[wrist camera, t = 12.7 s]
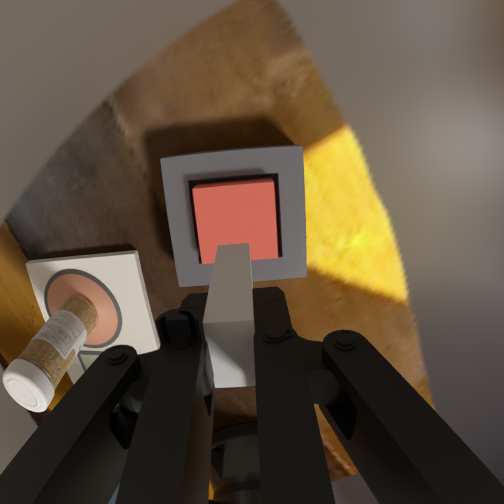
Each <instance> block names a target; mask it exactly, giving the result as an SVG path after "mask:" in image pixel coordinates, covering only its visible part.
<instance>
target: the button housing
mask: <svg viewBox="0 0 504 504" xmlns="http://www.w3.org/2000/svg"><path fill="white" fill-rule="evenodd" d="M160 161H161V170H162V178H163V186H164V193H165V201H166V208H167V215H168V222H169V228H170V235H171V241H172V247H173V253H174V259H175V265H176V270H177V276H178V282H179V287H186V286H201V285H210V282H211V276H212V271H213V266H214V263H210V264H202V260H201V252H200V245H199V238H198V230H197V222H196V215H195V206H194V198H193V190H192V189H193V188H194V187H195V186H196V184H197V183H202V182H212V181H222V180H233V179H245V178H258V177H271V178H272V180H273V181H274V191H275V208H276V226H277V246H278V258H272V259H260V260H251V272H252V282H254V281H266V280H277V279H289V278H300V277H307V267H306V215H305V186H304V164H303V146H300V145H296V144H293V145H273V146H258V147H244V148H232V149H222V150H212V151H202V152H194V153H185V154H177V155H170V156H167V157H164V158H161V159H160Z"/></svg>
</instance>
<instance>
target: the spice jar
mask: <svg viewBox="0 0 504 504" xmlns="http://www.w3.org/2000/svg"><path fill="white" fill-rule="evenodd" d="M97 323H98V314H97V311H96V309H95V307H94V305H93V304H92V303H91V302H90V301H89V300H87V299H86V298H84V297H82V296H79V295H72V296H69V297H67V298H66V299H65V301H64V302H63V305H62V306H61V307H60V308H59V309H58V310H57V311H56V312H55V313H54V314H53V315H52V316H51V317H50V318H49V319H48V320H47V322H46V323H45V324H44V325H43V326H42V327H41V329H40V330H39V331H38V332H37V333H36V335H35V336H34V337H33V338H32V339H31V341H30V342H29V344H28V345H27V347H26V348H25V349H24V350H23V352H22V353H21V354H20V355H19V357H17V358H16V359H15V360H13V361H12V362H11V363H10V365H9V366H8V367H7V369H6V370H5V372H4V374H3V383H4V386H5V388H6V390H7V391H8V393H9V394H10V395H11V397H12V398H13V399H14V400H15V401H16V402H18V403H19V404H20V405H21V406H23V407H25V408H26V409H28V410H31V411H34V412H42V411H44V410H46V408H47V407H48V405H49V404H50V402H51V400H52V398H53V396H54V392H55V389H56V387H57V385H58V384H59V382H60V380H61V379H62V377H63V375H64V374H65V372H66V371H67V369H68V368H69V367H70V365H71V364H72V362H73V360H74V359H75V357H76V356H77V354H78V352H79V351H80V349H81V348H82V346H83V345H84V343H85V341H86V339H87V337H88V336H89V334H90V333H91V331H92V330H93V329H94V328H95V327H96V325H97Z"/></svg>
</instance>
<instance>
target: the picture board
mask: <svg viewBox="0 0 504 504" xmlns="http://www.w3.org/2000/svg"><path fill="white" fill-rule="evenodd" d="M26 268H27V271H28V274H29V277H30V281H31V284H32V287H33V290H34V293H35V296H36V298H37V301H38V304H39V307H40V309H41V312H42V315H43V317H44V320H45V323H46V322H47V320H48V319H49V318H50V317H51V316H52V315H53V314H54V313H55V312H56V311H57V310H58V309H59V308H60V307H61V306H62V305H63V302H64V301H65V299H66V298H67V297H69V296H72V295H79V296H82V297H84V298H86V299H87V300H89V301H90V302H91V303H92V304H93V305H94V307H95V309H96V311H97V314H98V323H97V325H96V327H95V328H94V329H93V330H92V331H91V333H90V334H89V336H88V337H87V339H86V341H85V343H84V345H83V346H82V348H81V349H80V351H79V352H78V354H77V356H76V357H75V359H74V360H73V362H72V364H71V365H70V367H69V368H68V369H67V372H68V374H69V377H70V379H71V381H72V382H73V384H75V383H76V381H77V380H78V379H79V378H80V377H81V376H82V374H83V373H84V372H85V371H86V370H87V369H88V368H89V366H90V365H91V364H92V363H93V362H94V361H95V360H96V358H97V357H98V356H99V355H100V354H101V353H102V352H103V351H104V350H106V349H108V348H110V347H112V346H115V345H129V346H132V347H133V348H134V349H135V350H136V351H137V354H143V353H147V352H151V351H155V350H157V349H159V348H160V343H159V339H158V336H157V332H156V328H155V324H154V321H153V317H152V313H151V309H150V305H149V301H148V296H147V292H146V288H145V284H144V279H143V275H142V270H141V265H140V261H139V256H138V251H137V250H133V251H122V252H111V253H101V254H90V255H80V256H69V257H59V258H49V259H39V260H30V261H28V262H27V263H26Z"/></svg>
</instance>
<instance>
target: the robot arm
mask: <svg viewBox="0 0 504 504" xmlns="http://www.w3.org/2000/svg"><path fill="white" fill-rule="evenodd" d="M155 322H156V326H157V330H158V333H159V337H160V340H161V345H160V348H159V349H157V350H155V351H151V352H147V353H143V354H137V351H136V350H135V349H134V348H133V347H132V346H129V345H115V346H112V347H110V348H108V349H106V350H104V351H103V352H102V353H101V354H100V355H99V356H98V357H97V358H96V360H95V361H94V362H93V363H92V364H91V365H90V366H89V368H88V369H87V370H86V371H85V372H84V373H83V374H82V376H81V377H80V378H79V379H78V380H77V381H76V383H75V384H74V385H73V386H72V387H71V388H70V390H69V391H68V392H67V393H66V394H65V396H64V397H63V398H62V399H61V400H60V401H59V403H58V404H57V405H56V406H55V407H54V409H53V410H52V411H51V412H50V413H49V415H48V416H47V417H46V418H45V420H44V421H43V422H42V423H41V424H40V426H39V427H38V428H37V429H36V431H35V432H34V433H33V434H32V436H31V437H30V438H29V439H28V441H27V442H26V443H25V444H24V446H23V447H22V448H21V449H20V451H19V452H18V453H17V454H16V456H15V457H14V458H13V459H12V461H11V462H10V463H9V465H8V466H7V467H6V469H5V470H4V471H3V473H2V474H1V475H0V504H335V500H334V495H333V490H332V485H331V480H330V476H329V471H328V466H327V462H326V457H325V453H324V448H323V443H322V439H321V434H320V430H319V425H318V421H317V417H316V412H315V408H314V404H319V408H320V410H321V411H322V413H323V415H324V416H325V418H326V419H327V421H328V423H329V424H330V426H331V428H332V429H333V431H334V432H335V434H336V436H337V437H338V439H339V441H340V442H341V444H342V445H343V447H344V449H345V450H346V452H347V453H348V455H349V457H350V458H351V460H352V461H353V463H354V465H355V466H356V468H357V469H358V471H359V473H360V474H361V476H362V477H363V479H364V480H365V482H366V484H367V485H368V487H369V488H370V490H371V491H372V493H373V495H374V496H375V497H376V499H377V501H378V502H379V504H504V486H503V485H502V484H501V483H500V482H499V480H498V479H497V478H496V477H495V476H494V475H493V474H492V473H491V472H490V470H489V469H488V468H487V467H486V466H485V465H484V464H483V463H482V461H481V460H480V459H479V458H478V457H477V456H476V455H475V454H474V453H473V452H472V451H471V450H470V448H469V447H468V446H467V445H466V444H465V443H464V442H463V441H462V440H461V438H460V437H458V435H457V434H456V433H455V432H454V431H453V430H452V429H451V428H450V427H449V425H448V424H447V423H446V422H445V421H444V420H443V419H442V418H441V417H440V416H439V415H438V414H437V413H436V412H435V410H434V409H433V408H432V407H431V406H430V405H429V404H428V403H427V402H426V401H425V400H424V399H423V398H422V397H421V396H420V395H419V393H418V392H417V391H416V390H415V389H414V388H413V387H412V386H411V385H410V384H409V383H408V382H407V381H406V380H405V379H404V378H403V377H402V376H401V374H400V373H399V372H398V371H397V370H396V369H395V368H394V367H393V366H392V365H391V364H390V363H389V362H388V361H387V360H386V359H385V358H384V357H383V356H382V355H381V354H380V353H379V352H378V351H377V349H376V348H375V347H374V346H373V345H372V344H371V343H370V342H369V341H368V340H367V339H366V338H365V337H364V336H362V335H361V334H360V333H358V332H355V331H352V330H337V331H333V332H331V333H329V334H328V335H327V336H326V337H325V338H324V340H323V342H320V341H311V340H307V339H304V338H301V337H300V336H298V335H297V333H296V332H295V330H294V329H293V328H292V324H291V320H290V316H289V312H288V307H287V303H286V299H285V295H284V292H283V291H282V290H281V289H279V288H278V287H266V288H253V284H252V272H251V260H250V248H249V243H241V244H229V245H218V246H217V251H216V256H215V261H214V266H213V271H212V276H211V282H210V287H209V292H208V293H196V294H189V295H188V296H187V297H186V298H185V299H184V300H182V303H181V306H180V308H179V309H173V310H169V311H167V312H164V313H163V314H161V315H160V316H158V318H157V319H156V320H155ZM213 380H214V384H215V388H224V387H243V386H256V405H257V423H245V424H238V425H233V426H230V427H226V428H224V429H221V430H219V431H217V432H216V433H214V434H213V435H212V432H213V418H214V404H215V397H214V392H213ZM116 405H117V406H116ZM115 406H116V408H115ZM114 408H115V409H114ZM113 409H114V410H113ZM209 480H210V482H211V485H212V488H213V492H214V496H213V500H208V496H209Z"/></svg>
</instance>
